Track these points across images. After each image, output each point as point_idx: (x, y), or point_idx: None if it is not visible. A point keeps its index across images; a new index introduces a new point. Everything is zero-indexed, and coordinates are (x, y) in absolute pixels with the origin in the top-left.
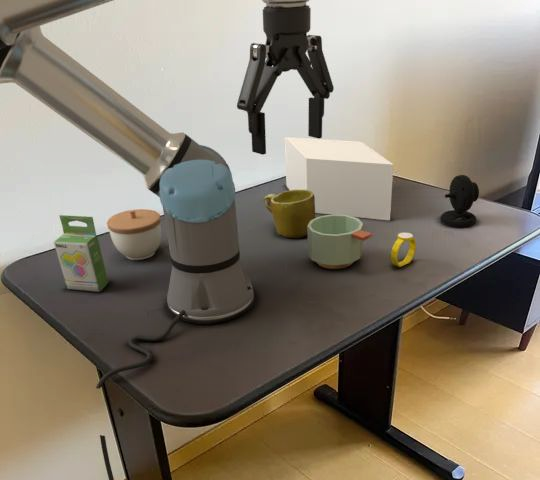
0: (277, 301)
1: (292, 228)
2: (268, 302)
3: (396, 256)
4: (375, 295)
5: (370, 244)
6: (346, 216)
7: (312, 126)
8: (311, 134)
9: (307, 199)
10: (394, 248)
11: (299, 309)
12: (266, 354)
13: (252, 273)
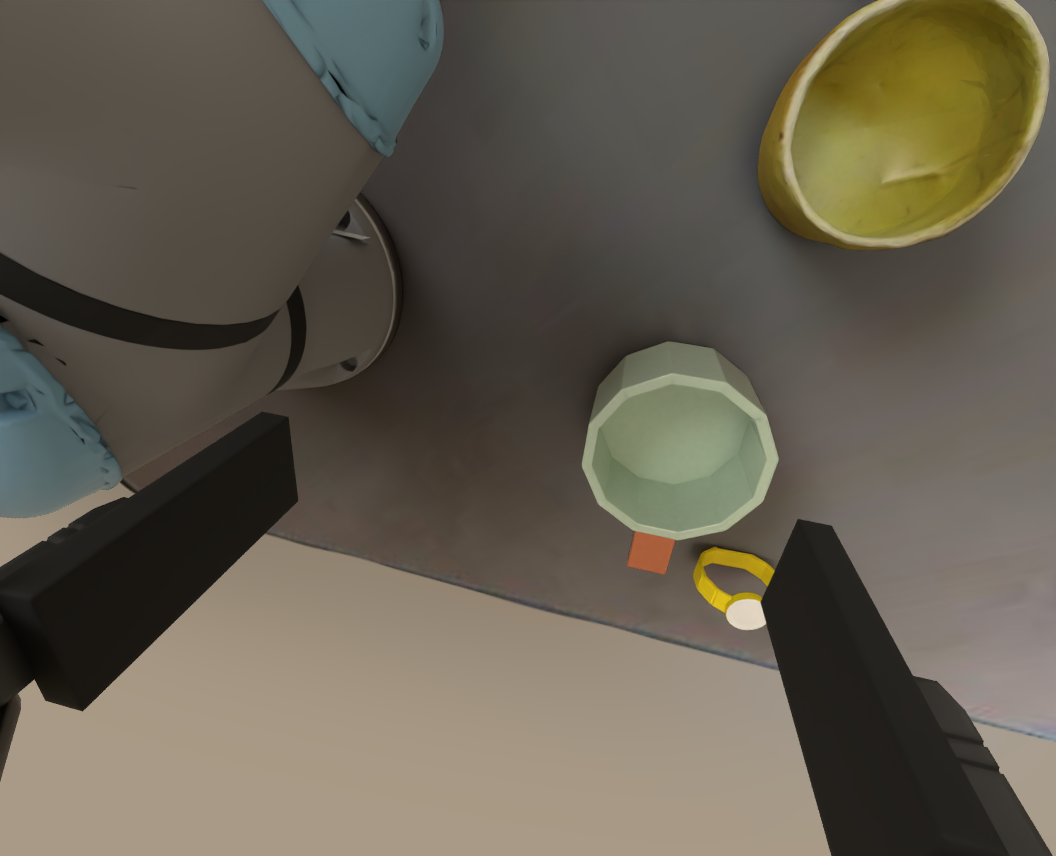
0: (412, 404)
1: (766, 200)
2: (396, 390)
3: (694, 579)
4: (559, 557)
5: (831, 443)
6: (766, 461)
7: (806, 609)
8: (789, 557)
9: (867, 246)
10: (703, 584)
11: (419, 460)
12: None
13: (476, 254)
